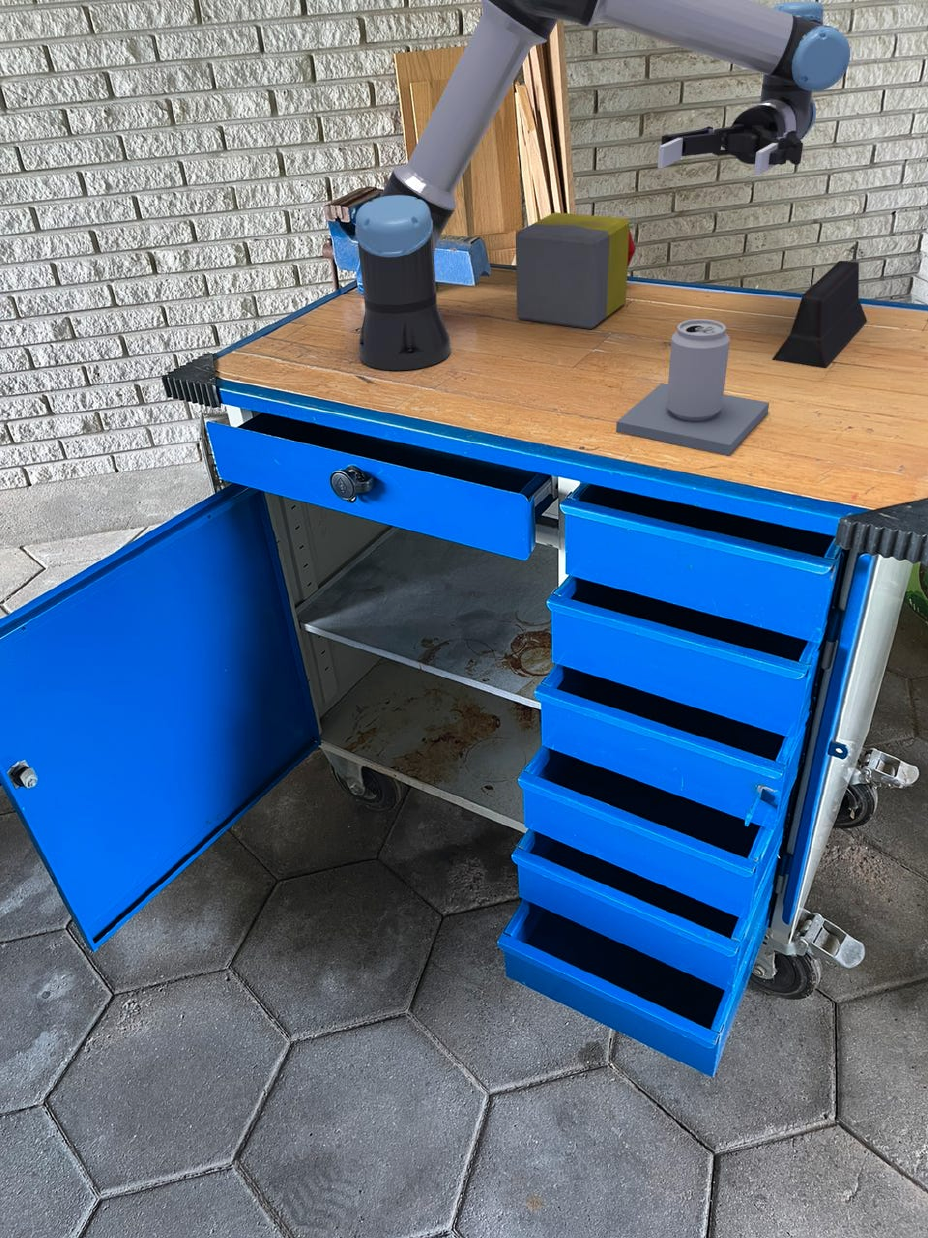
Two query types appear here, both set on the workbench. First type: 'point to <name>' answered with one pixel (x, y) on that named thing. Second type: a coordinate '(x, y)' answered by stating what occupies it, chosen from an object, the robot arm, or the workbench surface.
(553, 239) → the emergency stop button
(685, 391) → the can
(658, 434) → the slate board
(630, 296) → the workbench surface
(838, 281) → the barrier
